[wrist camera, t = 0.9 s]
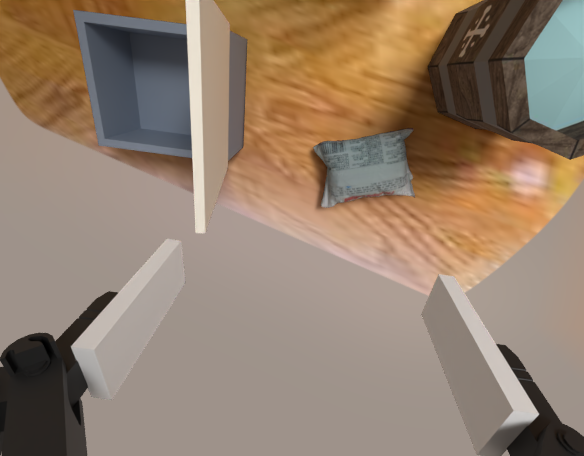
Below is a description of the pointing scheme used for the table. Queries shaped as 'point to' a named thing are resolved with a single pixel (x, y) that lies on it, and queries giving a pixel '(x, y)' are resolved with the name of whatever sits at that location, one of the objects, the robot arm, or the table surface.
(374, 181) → the packaged food
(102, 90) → the box
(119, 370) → the robot arm
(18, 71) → the table surface
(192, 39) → the lid
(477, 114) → the mug
